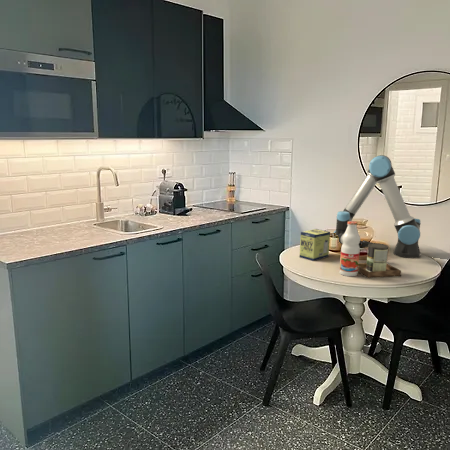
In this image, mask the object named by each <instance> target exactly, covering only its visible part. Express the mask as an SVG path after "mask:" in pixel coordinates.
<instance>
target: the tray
mask: <svg viewBox="0 0 450 450" xmlns="http://www.w3.org/2000/svg"><path fill="white" fill-rule="evenodd" d="M366 265H367V262H361V263H359V265H358V272H359V273H358V274H360V275H362V276H363V277H365V278H367V279H374V278H376V279H377V278H392V277H394V278H395V277H401V276H402V270H401V269H398V268H397V267H395V266H393V265H391V264H389V263H387V264H386V271H375V272H369V271H367V270H366Z"/></svg>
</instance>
